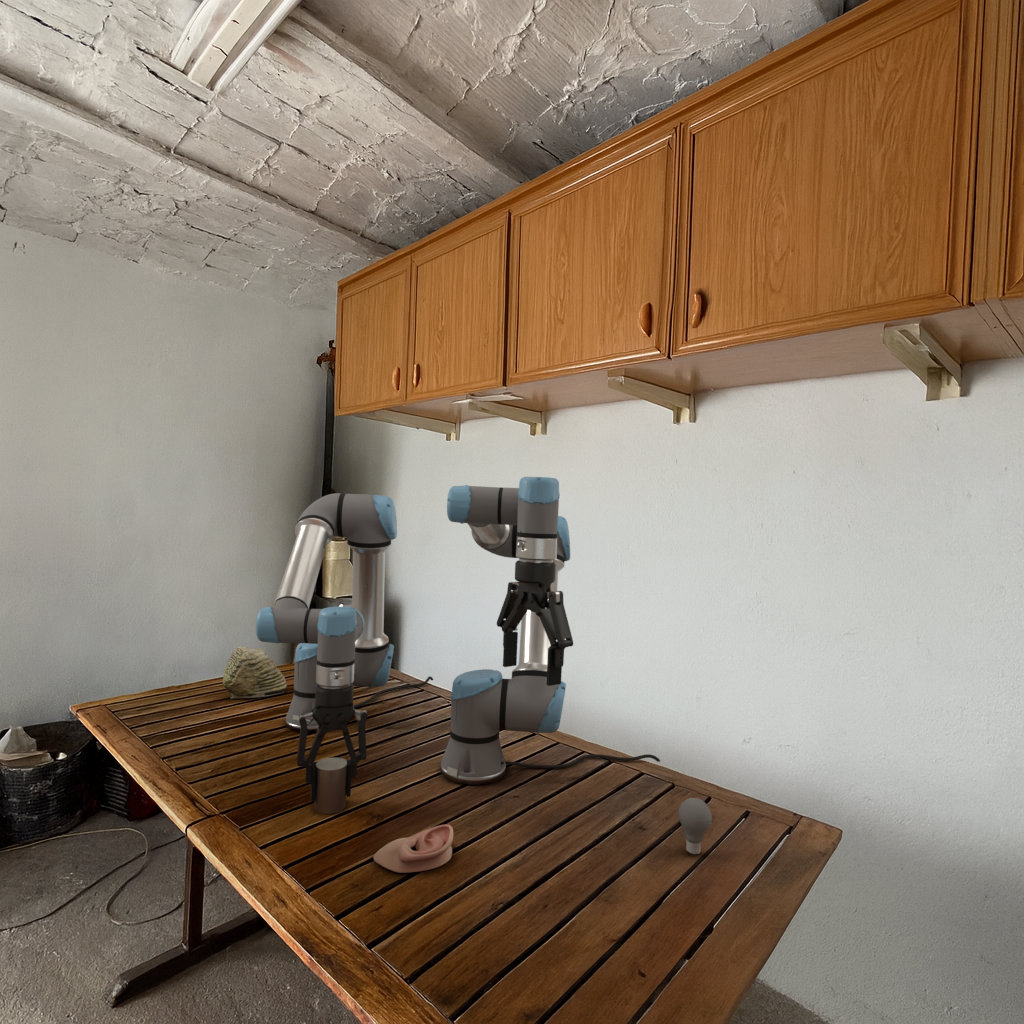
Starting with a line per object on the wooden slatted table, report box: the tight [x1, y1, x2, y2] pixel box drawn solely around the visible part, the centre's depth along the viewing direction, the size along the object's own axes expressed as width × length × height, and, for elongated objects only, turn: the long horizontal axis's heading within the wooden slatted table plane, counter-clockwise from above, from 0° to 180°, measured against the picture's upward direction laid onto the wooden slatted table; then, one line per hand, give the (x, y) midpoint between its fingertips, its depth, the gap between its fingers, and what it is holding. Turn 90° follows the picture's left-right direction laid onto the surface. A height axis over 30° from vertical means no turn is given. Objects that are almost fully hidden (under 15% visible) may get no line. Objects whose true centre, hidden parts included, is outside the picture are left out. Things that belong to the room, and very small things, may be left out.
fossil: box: [222, 646, 288, 699], centre depth 198 cm, size 9×18×15 cm, turn 132°
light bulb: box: [677, 797, 713, 855], centre depth 118 cm, size 6×6×10 cm
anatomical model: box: [372, 824, 455, 874], centre depth 113 cm, size 13×4×12 cm
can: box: [313, 757, 347, 815], centre depth 130 cm, size 6×6×9 cm
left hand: (330, 795), depth 130 cm, fingers closed on can, 6 cm apart
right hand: (530, 674), depth 117 cm, fingers open, 13 cm apart
